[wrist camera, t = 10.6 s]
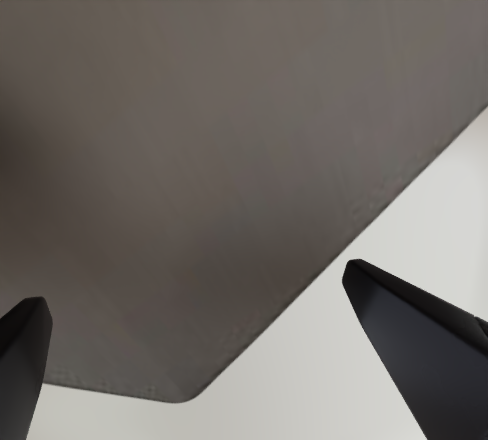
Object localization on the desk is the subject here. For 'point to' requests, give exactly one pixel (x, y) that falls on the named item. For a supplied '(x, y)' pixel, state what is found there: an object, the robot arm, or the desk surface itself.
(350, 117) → the desk surface
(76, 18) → the desk surface
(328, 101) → the desk surface
